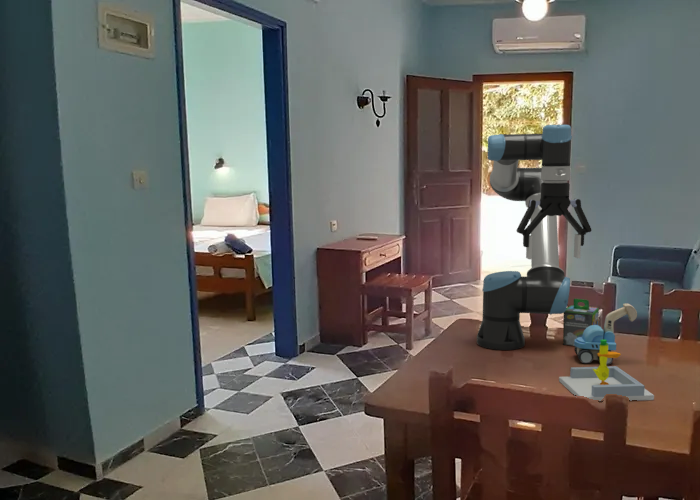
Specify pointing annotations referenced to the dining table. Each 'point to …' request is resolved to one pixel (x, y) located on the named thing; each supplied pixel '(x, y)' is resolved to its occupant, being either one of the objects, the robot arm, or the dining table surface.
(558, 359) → the dining table surface
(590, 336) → the toy excavator
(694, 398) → the dining table surface
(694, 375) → the dining table surface
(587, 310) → the chalk box
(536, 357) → the dining table surface
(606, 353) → the toy figure
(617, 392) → the open-sided tray
